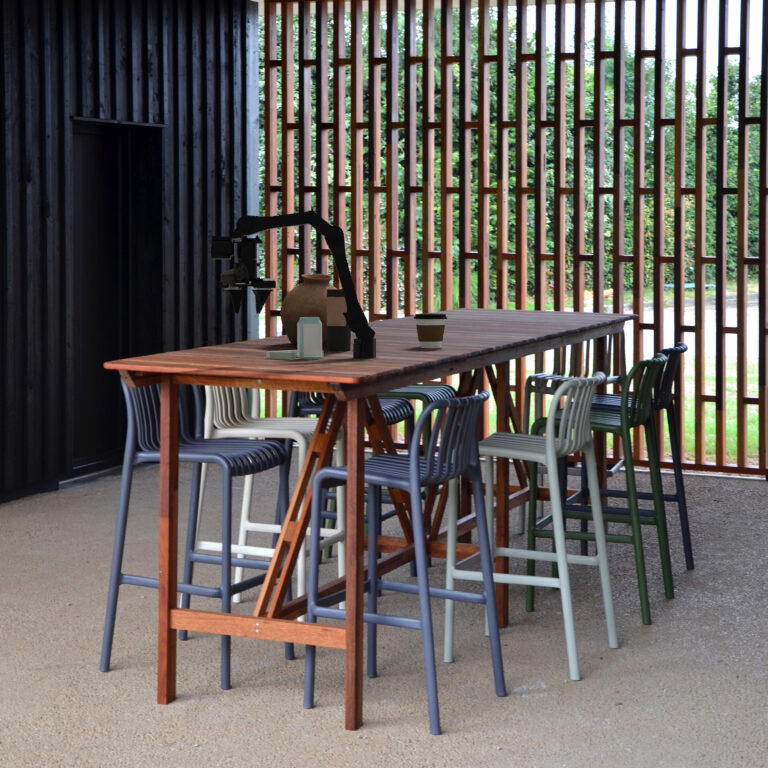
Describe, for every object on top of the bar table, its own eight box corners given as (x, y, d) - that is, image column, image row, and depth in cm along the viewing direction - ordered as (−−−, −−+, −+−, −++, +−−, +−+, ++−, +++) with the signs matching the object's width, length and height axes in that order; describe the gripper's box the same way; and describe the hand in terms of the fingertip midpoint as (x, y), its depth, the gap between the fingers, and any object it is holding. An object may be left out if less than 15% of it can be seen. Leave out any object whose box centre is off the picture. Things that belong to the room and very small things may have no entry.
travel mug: (321, 353, 396) (321, 289, 394) (341, 352, 401) (340, 289, 399) (336, 354, 390) (336, 289, 388) (356, 353, 395) (356, 289, 393)
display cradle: (298, 356, 377) (298, 349, 377) (323, 357, 370) (323, 351, 370) (266, 358, 367) (266, 351, 367) (291, 359, 360) (291, 352, 360)
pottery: (309, 348, 428) (308, 274, 426) (365, 350, 415) (365, 273, 413) (266, 351, 409) (265, 273, 407) (323, 353, 396) (322, 273, 394)
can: (309, 358, 369) (309, 316, 368) (327, 358, 365) (326, 317, 364) (292, 359, 364) (292, 317, 363) (310, 360, 359) (310, 317, 358)
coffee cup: (444, 352, 402) (444, 314, 401) (410, 351, 404) (410, 314, 403) (449, 350, 412) (449, 313, 411) (416, 350, 415) (416, 313, 414)
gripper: (204, 259, 365) (205, 313, 366) (247, 258, 353) (248, 314, 354) (233, 260, 373) (234, 313, 375) (277, 259, 361) (277, 313, 362)
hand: (247, 313), depth 366 cm, fingers open, 9 cm apart
